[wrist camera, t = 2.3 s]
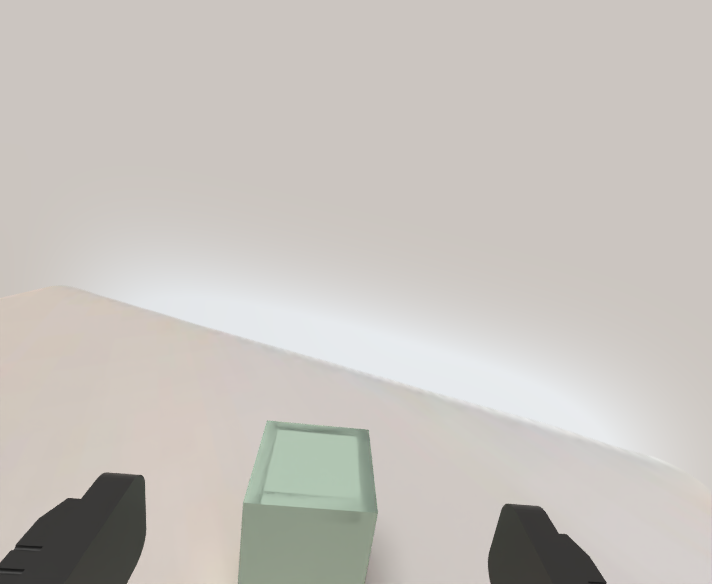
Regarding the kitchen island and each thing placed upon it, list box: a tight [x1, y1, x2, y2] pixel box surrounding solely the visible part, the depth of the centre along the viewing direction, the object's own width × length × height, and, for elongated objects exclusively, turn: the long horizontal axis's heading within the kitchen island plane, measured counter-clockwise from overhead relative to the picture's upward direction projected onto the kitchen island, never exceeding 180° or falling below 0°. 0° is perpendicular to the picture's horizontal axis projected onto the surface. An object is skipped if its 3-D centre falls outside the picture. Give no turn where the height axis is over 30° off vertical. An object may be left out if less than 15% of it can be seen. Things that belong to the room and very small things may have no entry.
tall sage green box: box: [238, 421, 378, 584], centre depth 23 cm, size 6×6×11 cm
